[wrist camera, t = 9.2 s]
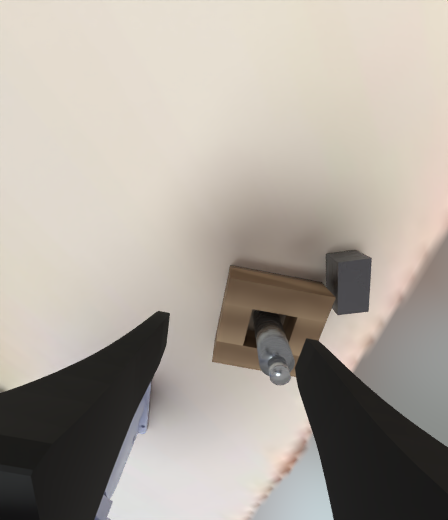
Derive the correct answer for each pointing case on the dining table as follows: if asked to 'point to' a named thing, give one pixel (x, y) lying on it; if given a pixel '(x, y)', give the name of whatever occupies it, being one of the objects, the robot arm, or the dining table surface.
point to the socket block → (270, 300)
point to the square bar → (349, 281)
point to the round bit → (273, 347)
